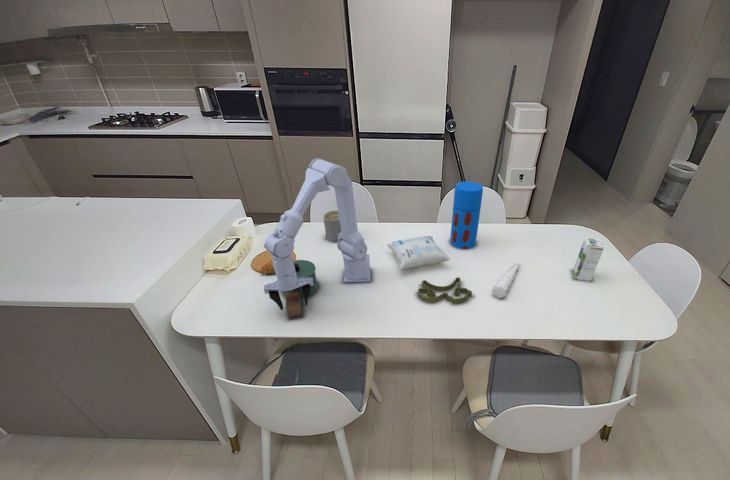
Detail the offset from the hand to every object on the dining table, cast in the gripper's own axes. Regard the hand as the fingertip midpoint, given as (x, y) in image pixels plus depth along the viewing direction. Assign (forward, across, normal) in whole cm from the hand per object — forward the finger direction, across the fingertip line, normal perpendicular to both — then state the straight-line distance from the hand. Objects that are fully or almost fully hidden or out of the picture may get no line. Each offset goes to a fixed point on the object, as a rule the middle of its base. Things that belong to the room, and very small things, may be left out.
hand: (294, 305), depth 113 cm
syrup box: (+2, -103, +12) cm, 104 cm away
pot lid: (-6, -2, -11) cm, 13 cm away
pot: (+2, -2, -11) cm, 11 cm away
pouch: (+2, -48, -16) cm, 50 cm away
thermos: (+2, -71, -24) cm, 75 cm away
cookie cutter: (+2, -50, +6) cm, 50 cm away
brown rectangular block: (+2, 0, 0) cm, 2 cm away
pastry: (+2, +6, -26) cm, 27 cm away
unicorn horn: (+2, -74, +7) cm, 75 cm away
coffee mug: (+2, -22, -45) cm, 50 cm away
